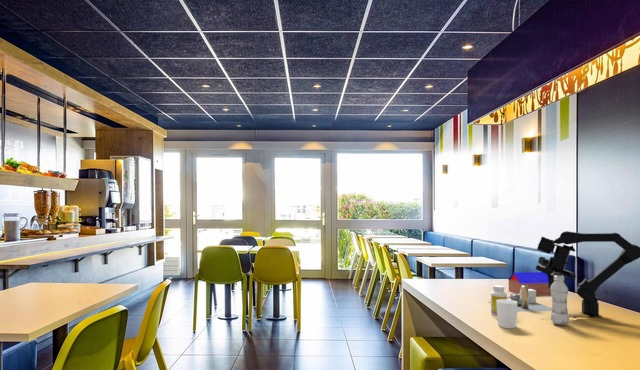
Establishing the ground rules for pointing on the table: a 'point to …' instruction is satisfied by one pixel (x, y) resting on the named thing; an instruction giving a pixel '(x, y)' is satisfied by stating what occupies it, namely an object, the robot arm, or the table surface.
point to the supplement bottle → (497, 297)
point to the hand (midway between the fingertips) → (550, 289)
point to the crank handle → (524, 297)
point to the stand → (532, 303)
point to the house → (530, 282)
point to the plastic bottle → (559, 301)
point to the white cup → (506, 313)
